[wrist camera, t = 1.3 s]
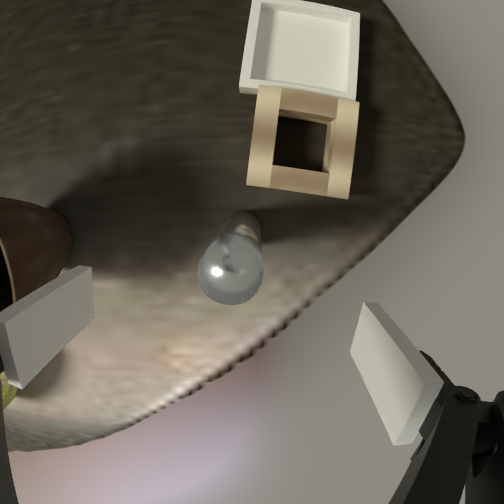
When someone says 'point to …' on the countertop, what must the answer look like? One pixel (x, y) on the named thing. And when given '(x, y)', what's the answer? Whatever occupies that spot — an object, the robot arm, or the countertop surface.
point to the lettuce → (7, 390)
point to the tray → (301, 48)
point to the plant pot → (30, 248)
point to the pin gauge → (233, 261)
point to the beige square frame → (311, 109)
